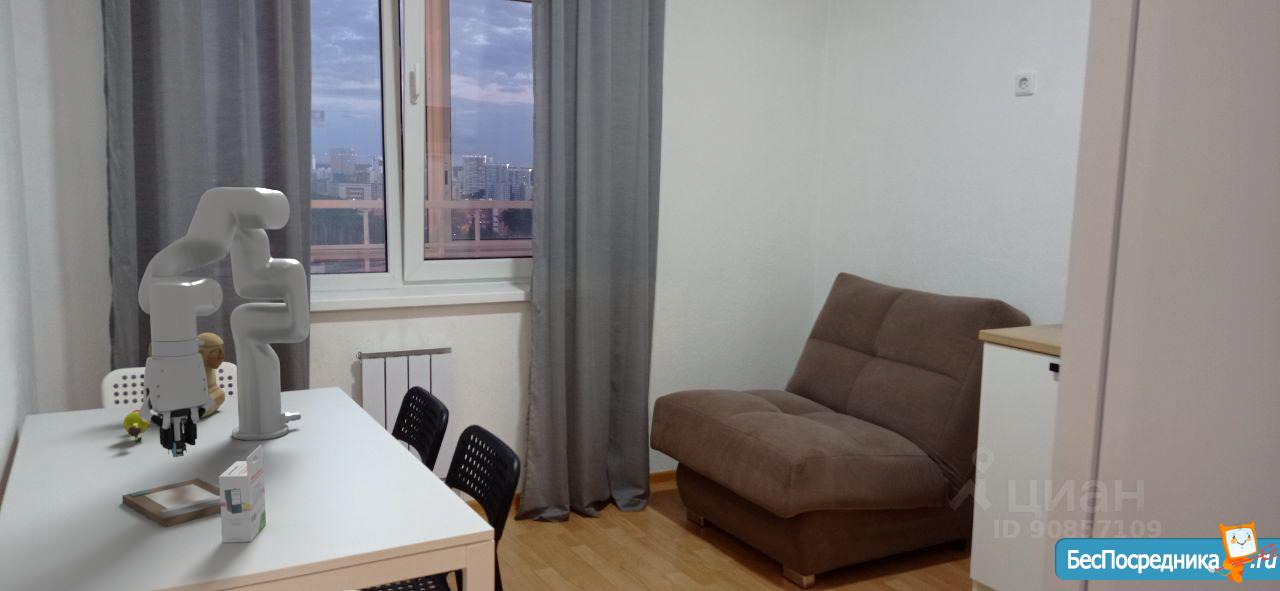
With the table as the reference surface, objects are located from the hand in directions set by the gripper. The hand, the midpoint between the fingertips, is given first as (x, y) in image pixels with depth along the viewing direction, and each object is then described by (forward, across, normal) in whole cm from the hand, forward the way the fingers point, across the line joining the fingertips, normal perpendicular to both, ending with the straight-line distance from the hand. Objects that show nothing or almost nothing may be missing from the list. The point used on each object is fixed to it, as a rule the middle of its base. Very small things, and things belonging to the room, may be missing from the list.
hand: (178, 445), depth 172 cm
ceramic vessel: (+11, -31, -67) cm, 75 cm away
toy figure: (+11, -12, -51) cm, 54 cm away
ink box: (+12, -1, +22) cm, 25 cm away
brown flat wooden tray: (+12, 0, 0) cm, 12 cm away
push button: (+2, 0, 0) cm, 2 cm away
